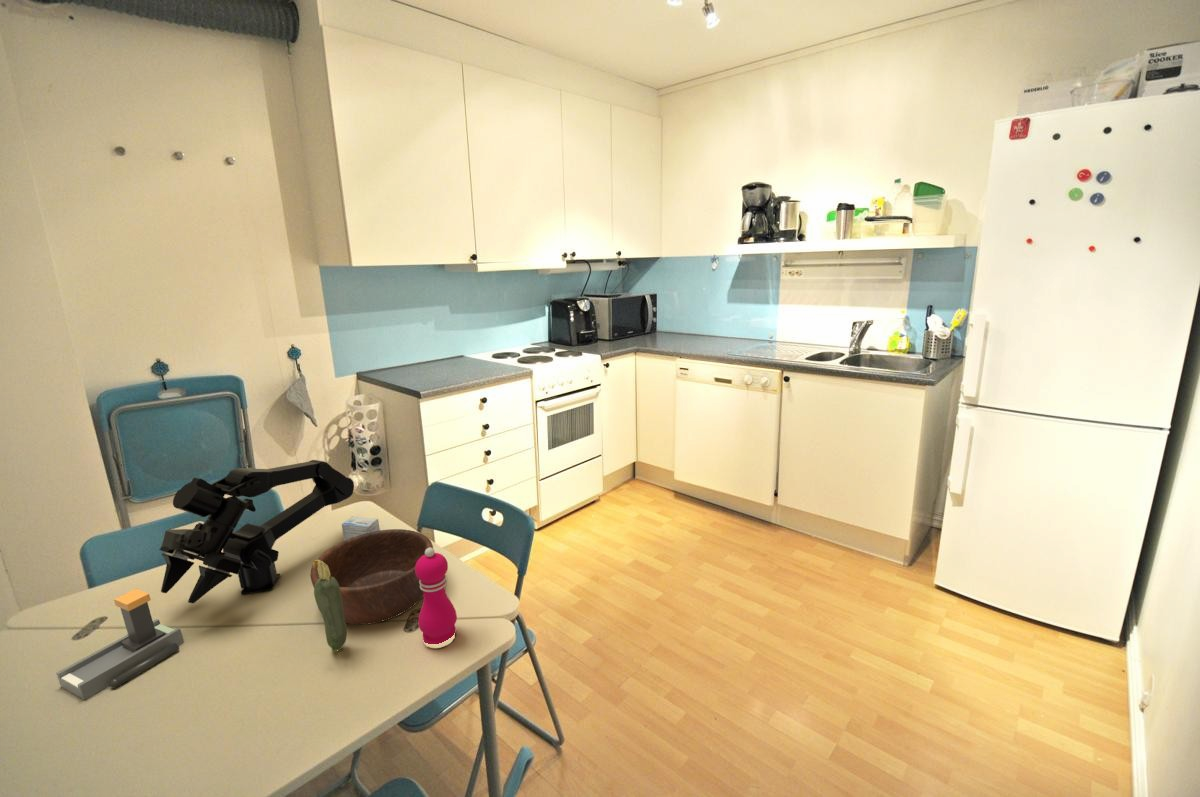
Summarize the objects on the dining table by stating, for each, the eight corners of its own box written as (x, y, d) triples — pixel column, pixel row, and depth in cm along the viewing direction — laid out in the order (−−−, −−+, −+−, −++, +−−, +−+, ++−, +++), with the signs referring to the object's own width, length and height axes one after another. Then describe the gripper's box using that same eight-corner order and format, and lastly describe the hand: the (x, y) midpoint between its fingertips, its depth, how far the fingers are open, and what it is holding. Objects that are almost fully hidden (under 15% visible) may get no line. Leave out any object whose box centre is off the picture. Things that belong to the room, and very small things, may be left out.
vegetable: (355, 647, 106) (340, 555, 100) (338, 662, 102) (321, 568, 97) (337, 642, 107) (321, 552, 102) (320, 657, 103) (302, 564, 98)
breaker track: (153, 628, 113) (150, 616, 112) (190, 644, 108) (187, 631, 107) (54, 683, 99) (49, 669, 98) (91, 704, 94) (86, 689, 93)
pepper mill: (463, 627, 110) (454, 538, 105) (451, 652, 104) (440, 559, 98) (429, 625, 111) (418, 538, 106) (414, 650, 104) (402, 558, 99)
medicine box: (383, 548, 142) (379, 518, 140) (372, 557, 138) (368, 526, 136) (357, 545, 144) (352, 515, 142) (345, 554, 140) (340, 523, 137)
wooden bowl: (443, 560, 135) (438, 523, 133) (430, 625, 112) (424, 581, 109) (336, 572, 131) (330, 534, 129) (300, 642, 108) (291, 597, 105)
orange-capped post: (151, 629, 109) (139, 586, 106) (166, 635, 107) (154, 592, 104) (121, 645, 104) (108, 601, 102) (136, 652, 102) (123, 607, 100)
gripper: (158, 504, 114) (110, 578, 108) (214, 519, 107) (165, 600, 100) (206, 521, 123) (164, 590, 117) (260, 536, 116) (218, 611, 109)
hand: (176, 597), depth 110 cm, fingers open, 9 cm apart
